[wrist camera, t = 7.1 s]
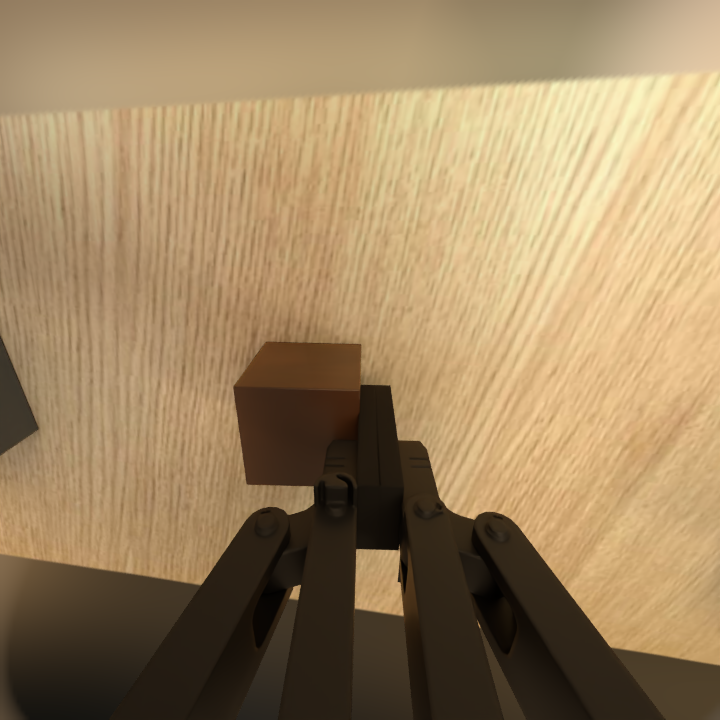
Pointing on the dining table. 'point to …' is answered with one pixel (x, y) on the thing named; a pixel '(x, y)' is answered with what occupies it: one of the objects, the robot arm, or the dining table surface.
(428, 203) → the dining table surface
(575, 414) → the dining table surface
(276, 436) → the walnut block
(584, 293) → the dining table surface
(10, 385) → the slate block
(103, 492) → the dining table surface
